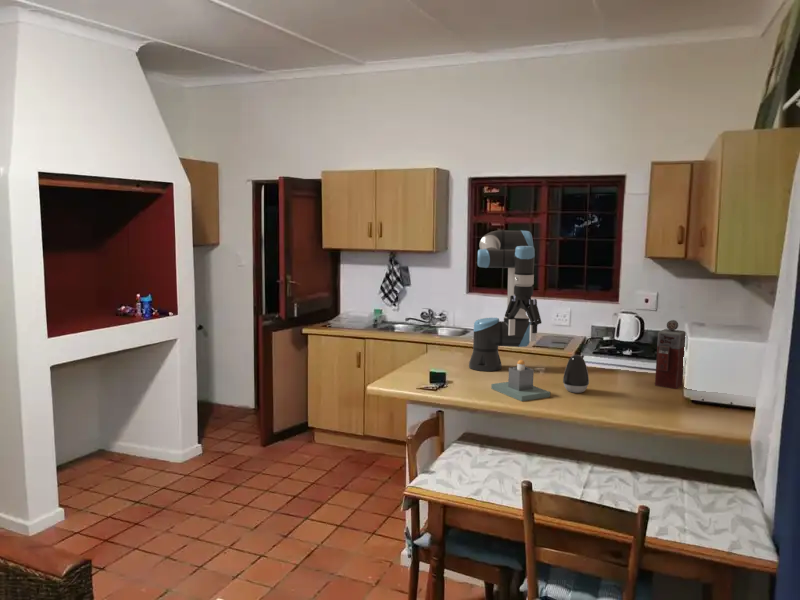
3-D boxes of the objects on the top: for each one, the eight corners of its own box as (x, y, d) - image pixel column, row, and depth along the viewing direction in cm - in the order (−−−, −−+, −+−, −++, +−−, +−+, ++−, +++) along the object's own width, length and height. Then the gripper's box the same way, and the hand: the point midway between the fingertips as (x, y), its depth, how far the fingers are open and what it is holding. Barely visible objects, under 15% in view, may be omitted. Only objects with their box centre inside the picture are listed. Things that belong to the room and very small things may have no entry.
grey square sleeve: (508, 386, 262) (508, 367, 261) (522, 384, 265) (522, 365, 264) (518, 391, 255) (519, 371, 254) (532, 388, 259) (533, 369, 258)
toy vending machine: (653, 386, 272) (657, 321, 268) (660, 381, 281) (664, 317, 277) (675, 390, 266) (679, 323, 263) (682, 384, 275) (686, 320, 272)
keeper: (491, 388, 266) (492, 356, 264) (518, 384, 272) (519, 353, 271) (521, 401, 248) (522, 367, 247) (550, 396, 255) (551, 363, 253)
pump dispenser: (593, 391, 264) (594, 354, 262) (580, 396, 256) (582, 358, 254) (570, 386, 270) (572, 351, 269) (557, 391, 263) (559, 354, 261)
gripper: (497, 282, 264) (495, 333, 267) (536, 289, 242) (534, 344, 245) (512, 281, 267) (510, 332, 270) (552, 288, 245) (549, 342, 248)
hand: (521, 338), depth 258 cm, fingers open, 13 cm apart
